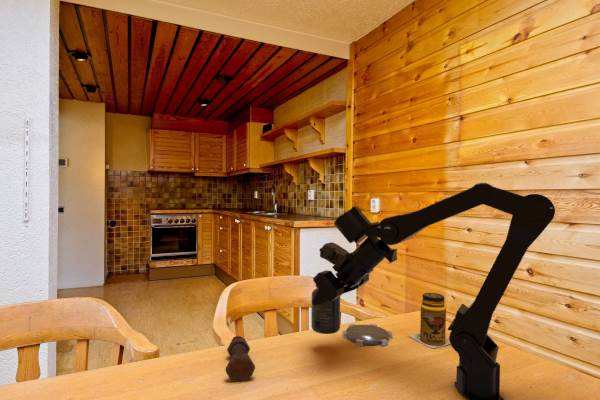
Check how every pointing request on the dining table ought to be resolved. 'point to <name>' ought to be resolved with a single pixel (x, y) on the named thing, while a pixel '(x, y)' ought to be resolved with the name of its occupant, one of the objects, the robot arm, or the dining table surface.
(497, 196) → the robot arm
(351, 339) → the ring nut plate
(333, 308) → the supplement bottle
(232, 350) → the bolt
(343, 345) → the dining table surface
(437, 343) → the condiment
